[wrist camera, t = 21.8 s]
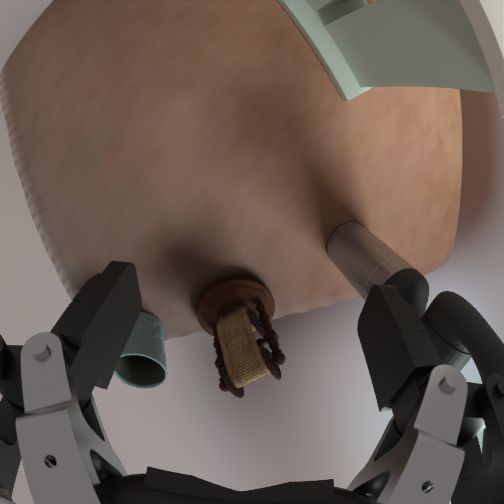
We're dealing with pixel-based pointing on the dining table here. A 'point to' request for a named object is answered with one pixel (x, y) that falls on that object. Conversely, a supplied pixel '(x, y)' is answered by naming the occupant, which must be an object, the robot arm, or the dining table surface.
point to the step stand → (406, 43)
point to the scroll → (240, 331)
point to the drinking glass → (144, 354)
